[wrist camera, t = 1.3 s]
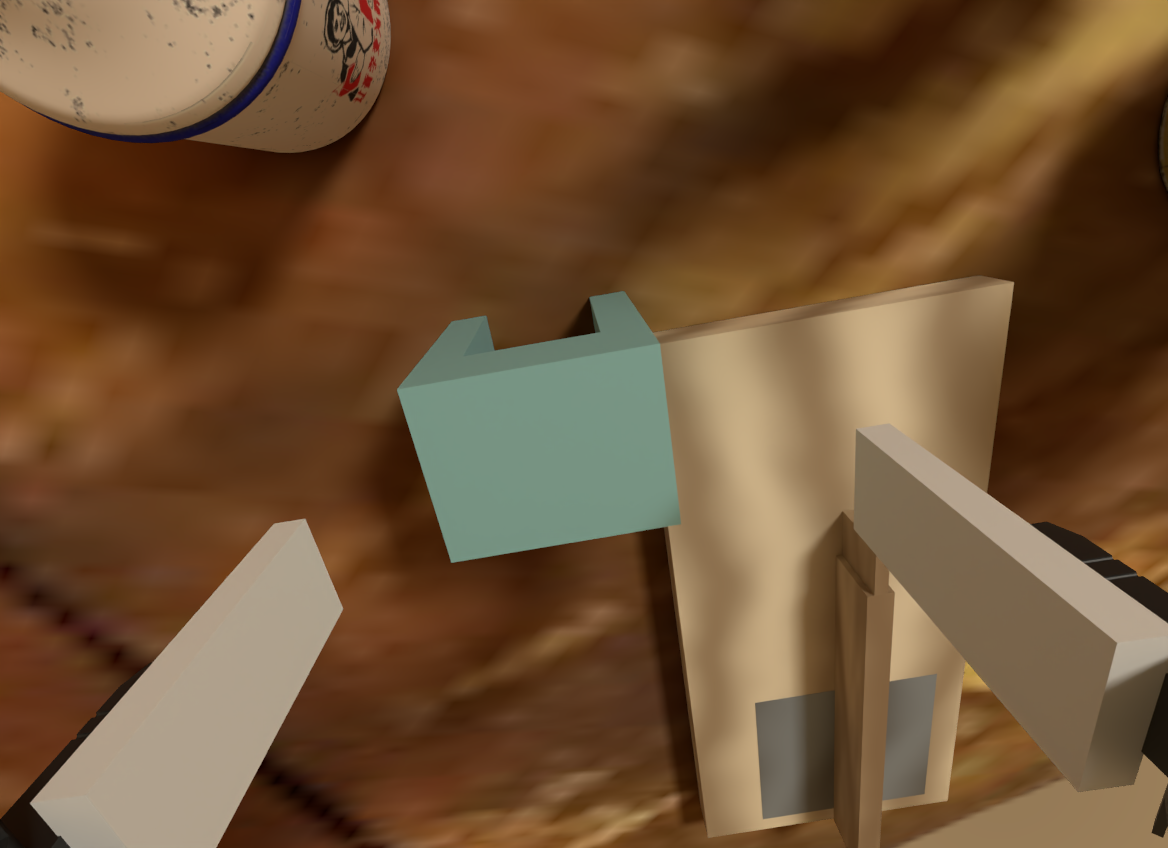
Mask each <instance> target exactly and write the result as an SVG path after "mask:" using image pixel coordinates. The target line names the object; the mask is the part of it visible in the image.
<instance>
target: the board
mask: <svg viewBox="0 0 1168 848" xmlns="http://www.w3.org/2000/svg"><path fill="white" fill-rule="evenodd" d="M1013 287H1014V282H1011V281H1006V280H1001V279H996V278H991V277H986V276H981V275H978V276H973V277H967V278H961V279H955V280H950V281H944V282H938V283H933V284H927V285H921V286H916V287H910V288H904V289H898V290H893V291H887V292H881V293H876V294H870V295H864V296H859V297H853V298H847V299H841V300H836V301H830V302H824V303H819V304H813V305H807V306H802V307H796V308H790V309H784V310H779V311H773V312H767V313H762V314H756V315H750V316H745V317H739V318H733V319H727V320H722V321H716V322H710V323H705V324H699V325H693V326H688V327H682V328H676V329H671V330H665V331H659V332H653V334H654V336H655V337H656V338H657V340H658V341H659V343H660V348H661V357H662V365H663V374H664V382H665V391H666V399H667V408H668V416H669V425H670V433H671V442H672V450H673V459H674V467H675V476H676V484H677V493H678V501H679V510H680V518H681V524H680V525H674V526H668V527H664V532H665V540H666V548H667V555H668V563H669V570H670V578H671V586H672V593H673V601H674V608H675V616H676V624H677V631H678V639H679V646H680V654H681V661H682V669H683V677H684V684H685V692H686V699H687V707H688V715H689V722H690V730H691V737H692V745H693V753H694V760H695V768H696V775H697V783H698V790H699V798H700V806H701V810H702V814H703V818H704V823H705V827H706V831H707V835H708V838H710V837H716V836H723V835H729V834H736V833H742V832H749V831H755V830H761V829H768V828H774V827H781V826H787V825H794V824H800V823H807V822H813V821H819V820H826V819H832V818H834V821H835V823H836V825H837V827H838V830H839V832H840V834H841V836H842V839H843V841H844V843H845V845H846V848H880V831H881V815H882V811H884V810H890V809H897V808H903V807H910V806H916V805H922V804H929V803H935V802H942V801H947V799H948V792H949V784H950V776H951V768H952V761H953V753H954V745H955V737H956V730H957V722H958V714H959V706H960V699H961V691H962V683H963V675H964V668H965V659H964V658H963V657H962V655H961V654H960V653H959V652H958V651H957V650H956V648H955V647H954V646H953V645H952V644H951V642H950V641H949V640H948V639H947V638H946V637H945V635H944V634H943V633H942V632H941V631H940V630H939V628H938V627H937V626H936V625H935V624H934V623H933V621H932V620H931V619H930V618H929V617H928V616H927V614H926V613H925V612H924V611H923V610H922V608H921V607H920V606H919V605H918V604H917V603H916V601H915V600H914V599H913V598H912V597H911V596H910V594H909V593H908V592H907V591H906V590H905V589H904V587H903V586H902V585H901V584H900V583H899V581H898V580H897V579H896V578H895V577H894V576H893V574H892V573H891V572H890V571H889V570H888V569H887V567H886V566H885V565H884V564H883V563H882V562H881V560H880V559H879V558H878V557H877V556H876V554H875V553H874V552H873V551H872V550H871V549H870V547H869V546H868V545H867V544H866V543H865V542H864V540H863V539H862V538H861V537H860V536H859V535H858V533H857V532H856V531H855V530H854V490H855V447H856V429H858V428H864V427H870V426H876V425H882V424H888V423H890V424H891V425H892V426H894V427H895V428H896V429H898V430H899V431H901V432H902V433H903V434H905V435H906V436H908V437H909V438H910V439H912V440H913V441H915V442H916V443H917V444H919V445H920V446H922V447H923V448H924V449H926V450H927V451H929V452H930V453H931V454H933V455H934V456H935V457H937V458H938V459H940V460H941V461H942V462H944V463H945V464H947V465H948V466H949V467H951V468H952V469H954V470H955V471H956V472H958V473H959V474H961V475H962V476H963V477H965V478H966V479H967V480H969V481H970V482H972V483H973V484H974V485H976V486H977V487H979V488H980V489H981V490H983V491H984V492H986V493H987V489H988V481H989V474H990V466H991V458H992V450H993V443H994V435H995V427H996V419H997V412H998V404H999V396H1000V388H1001V381H1002V373H1003V365H1004V357H1005V350H1006V342H1007V334H1008V326H1009V319H1010V311H1011V303H1012V295H1013Z"/></svg>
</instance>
